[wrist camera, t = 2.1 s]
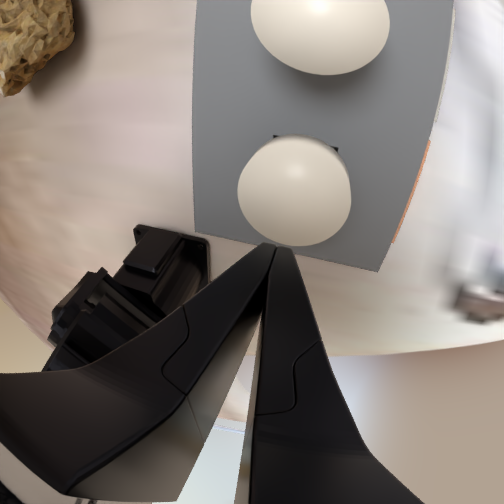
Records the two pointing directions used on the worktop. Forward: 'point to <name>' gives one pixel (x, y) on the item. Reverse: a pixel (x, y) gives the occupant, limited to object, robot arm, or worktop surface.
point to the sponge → (31, 38)
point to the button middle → (322, 32)
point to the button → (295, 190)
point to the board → (318, 121)
